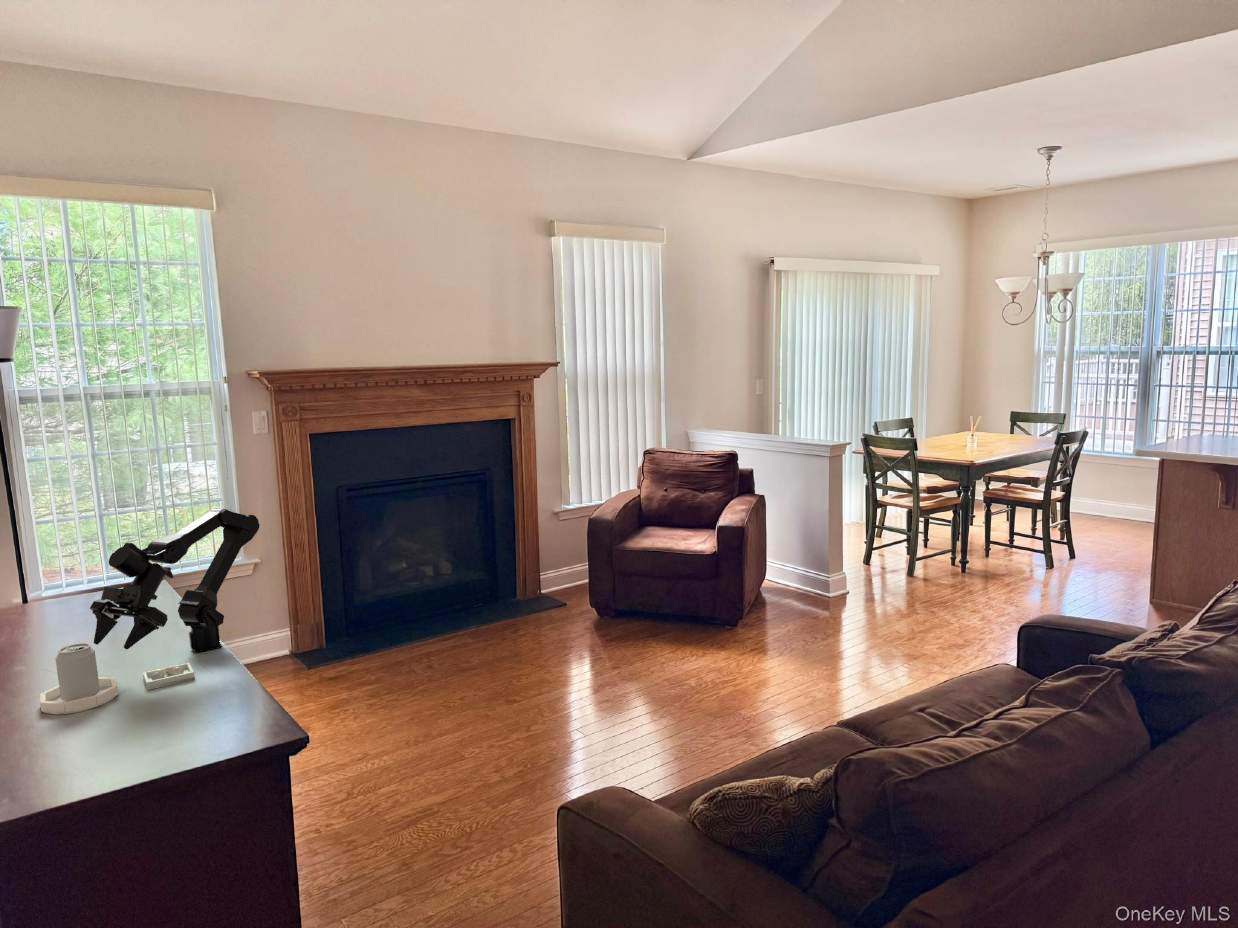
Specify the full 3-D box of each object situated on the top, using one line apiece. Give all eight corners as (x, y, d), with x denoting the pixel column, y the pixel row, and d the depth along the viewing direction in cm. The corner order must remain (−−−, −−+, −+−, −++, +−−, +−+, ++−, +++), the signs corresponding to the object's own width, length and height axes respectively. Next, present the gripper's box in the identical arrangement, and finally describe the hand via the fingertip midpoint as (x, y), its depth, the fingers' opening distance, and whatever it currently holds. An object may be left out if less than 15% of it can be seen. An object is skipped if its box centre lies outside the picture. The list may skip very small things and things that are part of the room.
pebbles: (182, 670, 205) (181, 660, 204) (185, 676, 200) (184, 667, 200) (150, 677, 201) (148, 667, 200) (152, 684, 196) (151, 674, 196)
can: (93, 701, 187) (87, 650, 186) (55, 706, 185) (48, 654, 184) (105, 689, 194) (98, 639, 193) (68, 693, 193) (61, 643, 191)
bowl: (115, 682, 200) (114, 672, 200) (120, 702, 188) (118, 691, 188) (41, 698, 192) (40, 687, 191) (41, 720, 180) (40, 709, 179)
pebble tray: (189, 669, 207) (189, 662, 206) (194, 679, 200) (193, 671, 200) (143, 679, 201) (142, 672, 201) (147, 689, 195) (146, 682, 194)
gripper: (91, 567, 202) (54, 627, 193) (152, 575, 196) (116, 637, 188) (123, 588, 210) (89, 646, 202) (182, 595, 205) (149, 656, 196)
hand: (110, 646), depth 197 cm, fingers open, 9 cm apart
